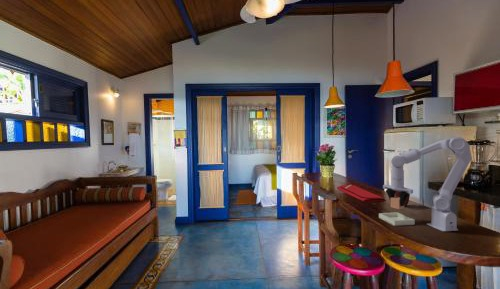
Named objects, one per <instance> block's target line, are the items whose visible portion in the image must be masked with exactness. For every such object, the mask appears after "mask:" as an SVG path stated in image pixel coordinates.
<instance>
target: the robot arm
mask: <svg viewBox="0 0 500 289" xmlns="http://www.w3.org/2000/svg"><path fill="white" fill-rule="evenodd" d="M437 150H450V151H451V152H452V153H453V154H454V156H455V157H456V159H455V161H454V163H453V165H452V166H451V169H450V170H449V173H448V174H447V176H446V178H445V180H444V182H443V184H442V186H440V188H439V189H438V191H437V192H436V193H435V194H434V195H433V196H432V197H431V200H432V203H433V205H432V206H431V218H430V219H431V222H429V223H428V222H427V223H426V225H427V226H429V227H431V228H434V229H436V230H439V231H441V232H452V231H453V232H454V231H455V232H456V231H459V229H458V228H457V225H458V224H457V223H458V222H457V221H458V217H457V215H456V214H455V212H453V211H451V200H452V198H453V196H454V194H453V193H454V192H455V190H456V188H457V186H458V185H459V182H460V181H461V179H462V177H463V176H464V174H465V171H466V169H467V168H468V166H469V164H470V162H471V161H472V153H471V151H470V144H469V142H467V140H466V139H465V138H463V137H461V136H451V137H449V138H444V139H441V140H438V141H435V142H433V143H431V144H428V145H426V146H424V147H422V148H419V149H417V148H408V150H406V151H405V152H402V153H398V155H394V156H393V157H392V158H391V161H390V162H391V172H390V173H391V174H390V175H391V176H390V178H391V179H390V181H391V182H390V184H383V185H382V189H384V190H385V193H386V194H387V196H388V198H389V202H390V204H391V197H395V192H396V191H400V193H399V196H400V206H404V203H405V200H406V198H407V197H408V195H409V194H410V195H412V194H413V193H414V189H412V188H408V187H405V169H404V166H405V165H408V164H410V163H411V164H412V163H413V162H416V161H419V160H421V158H422V156H423V155H427V154H430V153H432V152H436V151H437Z"/></svg>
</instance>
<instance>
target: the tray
mask: <svg viewBox="0 0 500 289" xmlns="http://www.w3.org/2000/svg"><path fill="white" fill-rule="evenodd" d="M378 219H380V220H382V221H384V222H386V223H388V224H389V225H392V226H393V227H398V226H399V227H400V226H413V225H414V226H415V225H416V224H415V223H416V220H415V219H414V218H412V217H409V216H407V215H404V214H403V213H400V212H397V211H396V212H382V213H381V212H380V213H378Z"/></svg>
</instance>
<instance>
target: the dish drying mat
mask: <svg viewBox="0 0 500 289" xmlns="http://www.w3.org/2000/svg"><path fill="white" fill-rule="evenodd" d="M336 189H337V190H339V191H341V192H342V193H345V194H347V195H349V196H351V197H353V198H356V199H357V200H360V201H361V202H364V203H365V202H385V201H386V199H385V198H384V197H382V196H380V195H377V194H375V193H372V192H370V191H368V190H366V189H363V188H361V187H359V186H356V185H354V184H341V185H340V186H339V185H338V186H336Z"/></svg>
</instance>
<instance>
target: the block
mask: <svg viewBox="0 0 500 289" xmlns="http://www.w3.org/2000/svg"><path fill="white" fill-rule="evenodd" d="M390 208H394V209H395V210H396V209H397V210H403V209H405V207H404V206H400V197H391V203H390Z"/></svg>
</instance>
